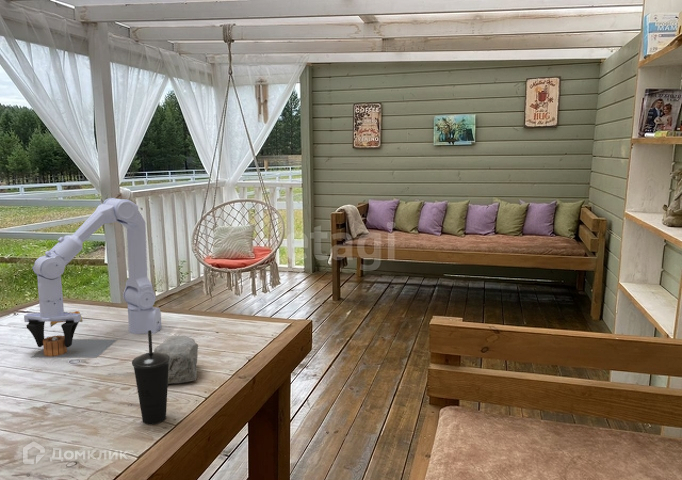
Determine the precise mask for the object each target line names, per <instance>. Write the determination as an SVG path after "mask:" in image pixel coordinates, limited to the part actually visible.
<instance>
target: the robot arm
mask: <svg viewBox="0 0 682 480" xmlns="http://www.w3.org/2000/svg"><path fill="white" fill-rule="evenodd" d="M117 222H118V223H119V224H120V225H122V226H123V227H124V228H125V229H126V239H127V242H126V244H127V260H128V278H127V279H126V281H125V288H124V291H123V293H122V297H123V300H124V302H125V303H126V304H127V316H128V317H127V319H128V332H129V333H130V334H133V335H141V334H142V335H143V334H144V335H145V334H148V331H149V330H151V333H152V334H156V333H157V332H159V331H160V330H161V329H162V312H161V311H162V310H161V309H160V308H159V307H154V304H155V302H156V298H157V295H156V293H155V291H154V289H153V283H152V282H151V281H150V279H149V277H148V261H147V260H148V259H147V258H148V257H147V234H146V233H147V232H146V231H147V230H146V228H147V227H146V221H145V219H144V217H143V215H142V213H141V212H140V210H139V205H137V204H136V203H135V202H133V201H131V200H130V199H122V198H116V197H109V198H106V199H105V200H104V201H103V202H102V203H100V204H99V205H98V206H97V207H96V209H95V210H94V212H93V213H92V214H91V215H89V217H88V218H87V219H85V221H84V222H83V223H82V224H81V225H80V226H79V227H78V228H77V229H76V230H75V231H74V233H73V234H70V235H69V234H67V235H64V236H60V237H59V238H58V239H57V241H58V242H57V243H56V244H55V245H54V246H53V247H52V248H51V249H49V250H46V251H45V252H44V255H41V256H40V257H38V258H37V259H36V260H35V261H34V264H33V266H32V268H31V269H32V270H33V272H34V274H35V275H36V277H37V278H36V279H37V290H38V293H37V294H38V302H39V312H32V313H29V312H28V313H26V314H24V315H23V316H24V317H23V319H24V320H23V321H24V323H27V324H25V325H26V327H25V328H26V329H27V330H28V331H29V332H30V333H31V335H32V336H33V339H34V340H35V342H36V345H37V348H41V347H42V348H43V339H45V325H46V324H45V323H46V322H51V321H66V322H63V323H62V324H61V326H60V327H61V330H62V331H63V336H64V337H65V346H66V347H70V346H71V345H72V340H73V339H74V335H75V332H76V329H77V326H78V325H79V323H80V322H79V321H80V320H81V316H82V315H80V314H81V313H80V314H77V313H69V312H67V311H66V312H65V310H64V309H65V308H64V298H63V286H62V285H63V283H62V275H63V274H64V272H65V268H66V266H67V265H68V264H69V263H70V262H71V261H72V260H73V259H74V258H75V257H76V256H77V255H78V254H79V253H80V252H81V251H82V250H83V243H84V242H85V241H86V240H87V239H89V238H90V237H91V236H92V235H93V234H94V233H95V232H96V231H98V230H99V229H100V228H101V227H102V226H104V225H105V224H112V223H117Z"/></svg>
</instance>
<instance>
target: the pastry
mask: <svg viewBox="0 0 682 480" xmlns="http://www.w3.org/2000/svg"><path fill="white" fill-rule="evenodd" d="M68 313H77V314H80V315H81V312H80V311H79V310H78V311H77V310H75V311H72V312H71V311H70V312H68ZM49 322H50V323H49V324H50V326H53V327H54V326H55V325H57V324H58V323H59V324H60V323H66V321H49ZM79 323H83V317H82V315H81V320H80V321H79Z"/></svg>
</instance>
